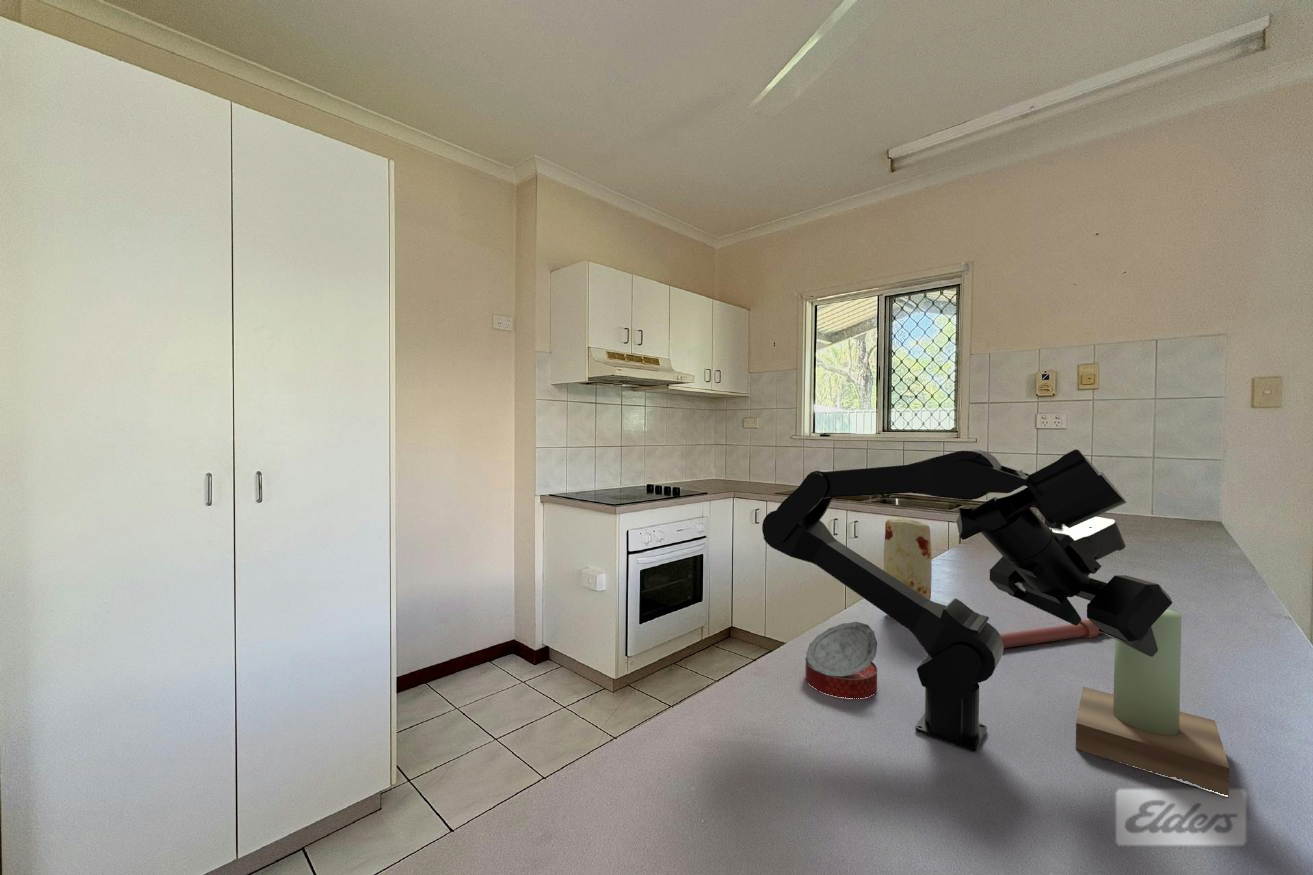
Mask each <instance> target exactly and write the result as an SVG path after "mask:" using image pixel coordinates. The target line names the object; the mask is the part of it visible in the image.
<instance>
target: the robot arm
mask: <svg viewBox="0 0 1313 875" xmlns="http://www.w3.org/2000/svg"><path fill="white" fill-rule="evenodd" d="M1022 487H1026V488H1023V489H1022V490H1019V489H1020V488H1022ZM1016 490H1019V491H1017V492H1015V493H1013V494H1011V495H1008V496H1003V497H996V496H994V497H992V498H990V499H988V500H985V502H982V503H980V504H979V505H976V506H974V507H971V508H963V507H960V508H959V509H958V514H959V515H958V517H957V519H956V522H955V523H956V526H957V530H958V535H959V538H960V539H961V540H963V541H964V540H967V539H969V538H971V537H973V536H976V535H979V534H980V533H981V535H982V536H984V538H986V540H987V541H988V542H989V543H990V545H992V546H993V547H994V549H995V550H996V551H997V552H998V553H999V554H1000V555H1001V557H1000V559H999V560H997V561H996V563H995V564H994V565H993V566H992V567H991V568H990V569H989V581H990V582H991V583H992V584H993V585H994V586H995V587H996V588H997V590H999V591H1002V592H1004V593H1007V594H1008V595H1009V596H1011V597H1013V598H1016V599H1018V600H1020V601H1021V602H1024V603H1026V604H1028V605H1030V606H1032V607H1034V608H1036V609H1039V610H1041V611H1043V612H1046V613H1048V614H1049V615H1051V616H1053V617H1056V618H1057V619H1060V620H1063V621H1065V622H1067V623H1068V624H1073V625H1075V626H1077V625H1078V624H1079V623H1080V622H1081V621H1082V620H1083V619H1082V618H1081V616H1080V615H1079V613H1078V611H1077V609H1076V608H1075V607H1074V605H1073V604H1072V603H1071V602H1070V600H1069V599H1068V598H1074V597H1075V596H1076V597H1078V598H1080V599H1083V600H1087V601H1089V602H1088V603H1087V604H1086V618H1087V620H1090V621H1091V622H1092V623H1093V624H1094V625H1095V626H1097V627H1098V628H1100V629H1099V631H1100V632H1102V633H1104V635H1106V636H1108V637H1110V638H1112V639H1114V640H1115V639H1116V640H1118V641H1120V642H1122V643H1124V644H1126V645H1128V646H1130V647H1132V648H1134V649H1136V650H1138V651H1140V652H1142V653H1144V654H1146V655H1148V656H1150V657H1153V656H1154V655H1155V654H1156V653H1157V651H1158V647H1157V644H1156V640H1155V637H1154V634H1153V630H1152V627H1151V626H1152V625H1153V624H1154V623H1155V621H1156V620H1157V619H1158V618H1159V617H1160V616H1161V615H1162V614H1163V613H1164V612H1165V611H1166V610H1167V609H1169V608H1170V607H1171V606H1172V604H1173V601H1172V599H1171V596H1170V595H1169V594H1168V593H1167V592H1166V591H1165V590H1164V588H1163V587H1162V586H1161V585H1160V584H1159V583H1156V582H1152V581H1149V580H1144V579H1141V578H1138V577H1133V576H1130V575H1125V574H1122V575H1119V574H1118V575H1113V577H1112V578H1110V580H1109V581H1108V582H1106V581H1102V580H1099V579H1095V578H1091V577H1090V574H1092V575H1095V574H1096V573H1097V572H1098V571H1099V570H1100V569H1101V568H1102V565H1101V564H1100V563H1099V561H1098V560H1100V559H1102V558H1104V557H1106V556H1108V555H1110V554H1111V555H1112V554H1113V553H1115V552H1116V551H1122V550H1125V548H1126V545H1127V544H1126V543H1125V541H1124V537H1123V536H1122V533H1121V531H1120V528H1119V526H1118V523H1117V521H1116V520H1115V519H1113V518H1107V517H1100V515H1102V514H1105V513H1106V512H1109V511H1112V510H1114V509H1116V508H1119V507H1120V506H1122V505H1125V504H1127V501H1126V499H1125V497H1123V495H1122V494H1121V492H1120V491H1119V490H1118V489H1117V488H1116V487H1115V485H1114V484H1113V483H1112V482H1111V480H1109V478H1108V477H1107V476H1106V474H1105V473H1103V471H1101V472H1100V471H1099V470H1098V469H1097V468H1096V466H1095V465H1094V464H1093V463H1092V462H1091V461H1090V460H1089V459H1088V458H1087V457H1086V456H1085V455H1084V454H1083V453H1082V451H1081V450H1080V449H1078V448H1077V449H1073V450H1071V451H1068V452H1067V453H1064V455H1062V456H1061V457H1060V458H1059V459H1058V460H1056V461H1054V462H1052V463H1050V464H1049V465H1046V466H1044V467H1043V468H1041V469H1039V470H1036V471H1034V472H1032V473H1027V472H1024V471H1023V470H1022V469H1021V470H1018V469H1014V468H1012V467H1008V466H1006V465H1001V462H1000V461H999V460H998V459H997V457H995V456H994V455H992V454H991V453H990V452H988V451H985V450H982V449H968V450H967V449H966V450H958V451H954V452H950V453H946V454H942V455H938V456H935V457H931V458H927V459H924V460H920V461H916V462H913V463H909V464H899V465H886V466H875V467H865V468H864V467H863V468H852V469H851V468H850V469H841V470H840V469H839V470H833V469H832V470H831V469H822V470H814V471H811V472H810V473H808V474H807V476H806V477H805V478H804V479H803V481H802V482H801V484H799V486H798V487H797V488H795V490H793V491H792V493H790V495H789V496H787V497H786V498H785V499H784V500H783V501H782V502H781V503H780V504H779V506H778V507H777V509H775V510H773V511H770V512H769V513H767V514H766V515H765V517H764V519H763V521H762V524H761V525H762V526H761V530H762V531H761V532H762V536H763V540H764V541H765V543H766V545H768V546H769V547H770V548H772V549H774V550H776V551H778V552H780V553H782V554H784V555H786V556H788V557H789V558H790V557H791V558H793V559H796V560H801V561H803V562H807V563H810V564H813V565H815V566H816V567H818V568H819V569H821V570H823V571H824V572H825V573H827V574H828V575H830V576H831V577H833V578H834V579H836V580H837V581H838V582H840V583H841V584H843V586H844V585H845V587H847V588H849V589H850V590H851V591H853V592H854V593H856V594H857V595H859V596H860V597H861V598H863V599H865V600H866V601H867V602H869V603H871V605H873V606H874V607H875V608H877V609H879V610H880V611H882V612H883V613H884V614H886V615H888V617H890V618H891V619H893V620H894V621H896V622H897V623H899V624H900V625H901V626H903V627H904V628H906V629H907V630H908V631H910V632H911V634H912V635H913V636H914V638H915V639H916V640H917V642H918V643H919V645H920V646H921V647H922V648H923V650H924V652H926V654H927V656H926V657H925V658H924V659H923V660H922V661H921V663H919V665H918V666H917V668H916V673H917V675H918V678H919V681H920V684H921V686H922V687H923V688H925V690H924V691H925V692H924V695H925V696H924V714H923V715H922V716H921V718H920V719H919V720H918V721H917V723H916V724H915V727H914V730H915V731H916V732H917V733H920V734H923V735H924V736H928V737H932V738H933V739H936V738H937V740H940V741H942V742H945V743H947V742H948V744H951V745H954V746H956V747H959V748H962V749H964V750H967V751H970V752H972V753H973V752H975V753H976V752H977V751H978V749H979V748H980V745H981V743H982V742H983V740H984V737H985V735H986V733H987V731H988V730H987V729H988V726H986V725H985V724H982V723H981V722H979V721H980V683H983V682H986V681H987V680H989V679H990V678H991V677H992V676H993V674H994V672H995V670H996V668H997V666H998V665H999V662H1000V661H1001V659H1002V656H1003V654H1004V648H1003V642H1002V639H1001V637H1000V634H1001V633H1000V632H999V631H998V630H997V629H996V628H995V626H993V625H992V624H991V623H988V621H989V620H990V617H989V616H988V615H984V614H980V613H978V612H976V611H974V610H973V609H971V608H970V607H968V606H967V604H965V603H964V602H963V601H962V600H960V599H958V598H953V599H952V600H951V601H950V602H949V603H948V604H947V605H945V604H942V603H938V602H935V601H933V600H931V599H930V600H928V599H927V598H925V597H924V596H922V595H921V594H919V593H918V592H916V591H915V590H913V589H911V588H910V587H908V586H907V585H905V584H904V583H902V582H901V581H899V580H897V579H896V578H894V577H893V576H891V575H890V574H888V573H887V572H885V571H884V570H883V568H881V567H878V566H877V565H876V564H875V563H873V562H871V561H870V560H868V559H866V558H865V557H863V556H862V555H860V554H859V553H857V552H856V551H855V550H852V549H851V548H850V547H848V546H846V545H845V544H844V543H843V542H840V541H838V540H837V539H836V538H835V537H834V536H833V535H832V533H831V532H830V530H829V528H827V526H826V525H825V523H824V522H823V521H821V519H822V518H823V517H824V515H825V514H826V512H827V510H828V509H829V506H830V505H831V503H832V501H833V500H834V498H839V497H854V496H855V497H857V496H858V497H859V496H877V495H893V494H894V495H895V494H919V495H925V496H931V497H936V498H946V499H954V500H962V501H972V500H977V499H980V498H983V497H985V496H987V495H989V494H991V493H992V494H993V493H994V494H1010V493H1012V492H1014V491H1016ZM1033 507H1035V509H1037V511H1039V513H1040V514H1041V516H1042V517H1043V518H1044V521H1043V519H1042V518H1040V516H1039V515H1038V514H1037V513H1036V512H1035V511H1034V509H1032V508H1033Z"/></svg>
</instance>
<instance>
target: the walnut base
mask: <svg viewBox="0 0 1313 875" xmlns="http://www.w3.org/2000/svg"><path fill="white" fill-rule="evenodd" d="M1081 690H1082V691H1081V696H1080V701H1079V705H1078V706H1079V707H1078V711H1077V717H1076V721H1075V722H1076V723H1075V750H1078V749H1079V750H1078V751H1081V750H1082V752H1084V751H1085V753H1087V754H1090V753H1091V754H1090V755H1093V756H1096V755H1098V756H1097V757H1100V756H1101V757H1100V758H1103V759H1106V758H1107V760H1109V759H1110V760H1109V761H1112V760H1114V761H1113V762H1115V761H1116V762H1115V763H1118V762H1121V763H1122V765H1124V764H1128V765H1130V766H1129V767H1131V766H1135V767H1138V768H1141V769H1145V770H1147V771H1152V772H1153V773H1158V774H1161V775H1165V776H1168V777H1176V778H1177V779H1182V780H1183V781H1188V782H1190V783H1192V784H1196V785H1198V786H1200V787H1202V788H1205V789H1208V790H1212V791H1214V792H1218V793H1220V794H1224V795H1228V796H1229V797H1230V773H1231V772H1230V771H1231V770H1230V765H1229V762H1228V759H1227V756H1226V753H1225V749H1224V747H1223V746H1224V744H1223V743H1222V739H1221V735H1220V733H1219V729H1218V726H1217V723H1216V722H1217V721H1216V720H1213V719H1211V718H1207V717H1202V716H1199V715H1195V714H1191V713H1188V712H1184V711H1180V718H1179V733H1178V734H1177V735H1170V736H1169V735H1159V734H1153V733H1149V732H1145V731H1142V730H1139V729H1136V728H1134V727H1131V726H1129V725H1127V724H1125V723H1123V722H1121V721H1120V720H1118V719H1117V718H1116V717H1115V716H1114V714H1113V702H1114V693H1110V692H1105V691H1103V690H1098V689H1093V688H1090V687H1086V686H1082V689H1081ZM1121 763H1120V764H1121ZM1128 765H1127V766H1128Z"/></svg>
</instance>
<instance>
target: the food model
mask: <svg viewBox="0 0 1313 875" xmlns="http://www.w3.org/2000/svg"><path fill="white" fill-rule="evenodd" d="M884 526H885V527H884V532H885V533H884V542H883V558H882V559H883V568H882V570H884V571H885V572H887V573H888V574H890V575H891V576H893V577H894V578H896V579H897V580H899V581H901V582H902V583H904V584H905V585H907V586H908V587H910V588H911V589H913V590H915V591H916V592H918V593H919V594H921V595H922V596H924V597H925V598H927V599H928V600H930V601H931V598H932V597H931V596H932V575H933V574H932V571H933V570H932V569H933V568H932V567H933V565H932V561H933V560H932V542H931V541H932V540H931V538H932V537H931V529H930V528H931V527H930V525H929V524H926V523H924V522H922V521H917V520H915V519H908V518H905V517H896V518H889V519H887V520H886V521H885V525H884Z"/></svg>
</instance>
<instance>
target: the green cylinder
mask: <svg viewBox="0 0 1313 875" xmlns="http://www.w3.org/2000/svg"><path fill="white" fill-rule="evenodd" d="M1182 617H1183V616H1182V615H1181V613H1179V612H1177V611H1175V610H1171V609H1169V608H1167V610H1166V611H1165V612H1164V613H1163V614H1162V615H1161V616H1160V617H1159V618H1158V619H1157V620H1156V621H1155V623H1154V624H1153V625H1152V626H1151V627H1152V630H1153V634H1154V637H1155V640H1156V644H1157V647H1158V651H1157V653H1156V654H1155V655H1154V656H1153V657H1150V656H1148V655H1146V654H1144V653H1142V652H1140V651H1138V650H1136V649H1134V648H1132V647H1130V646H1128V645H1126V644H1124V643H1122V642H1120V641H1118V640H1116V639H1114V653H1113V654H1114V655H1113V656H1114V658H1113V659H1114V660H1113V694H1114V702H1113V714H1114V716H1115V717H1116V718H1117V719H1118V720H1120V721H1121V722H1123V723H1125V724H1127V725H1129V726H1131V727H1134V728H1136V729H1139V730H1142V731H1145V732H1149V733H1153V734H1159V735H1169V736H1170V735H1177V734H1178V733H1179V718H1180V712H1181V711H1180V710H1181V708H1180V707H1181V705H1180V704H1181V664H1182V663H1181V660H1182V659H1181V656H1182Z"/></svg>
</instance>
